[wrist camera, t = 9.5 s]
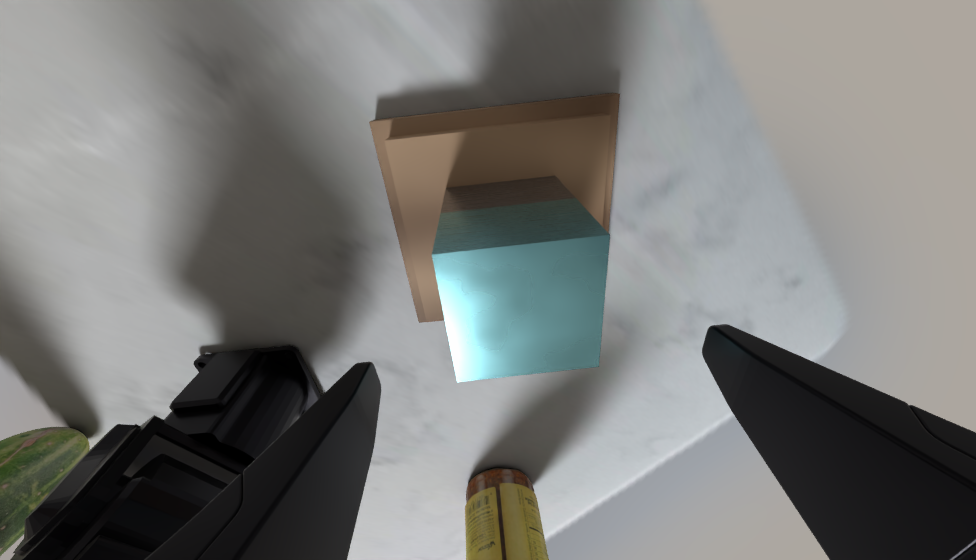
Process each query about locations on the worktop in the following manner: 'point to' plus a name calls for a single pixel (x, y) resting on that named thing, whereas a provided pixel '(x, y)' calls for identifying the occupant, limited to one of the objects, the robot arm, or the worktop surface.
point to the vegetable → (33, 473)
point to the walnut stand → (489, 166)
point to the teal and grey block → (520, 278)
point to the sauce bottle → (503, 518)
